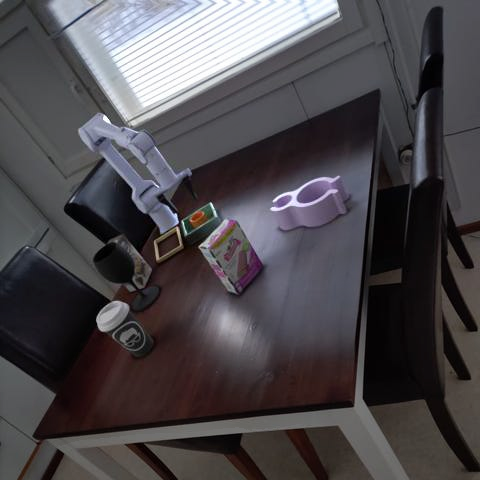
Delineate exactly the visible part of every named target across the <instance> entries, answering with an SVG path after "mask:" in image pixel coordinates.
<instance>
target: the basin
mask: <svg viewBox="0 0 480 480" xmlns="http://www.w3.org/2000/svg"><path fill="white" fill-rule="evenodd" d="M200 211H201V212H203V213H204V214H205V216H206V217H207V222H206V223H204V224H203V225H201V226H199V227H198V228H195V227H194V226H193V225H192V223H191V222H190V219H191V217H192V216H193V215H194V214H196V213H197V212H200ZM221 223H222V221H221V218H220V215H219V214H218V211H217V209H216V207H215V206H214V204H213V203H212V202H209V203H207V204H205V205H204V206H202V207H201V208H199V209H198V210H196V211H195V212H193V213H192V214H189V215H188V216H187V217H185V218H184V219H182V220H180V224H181V228H182V231H183V235H184V238H185V240H186V241H187V242H188V243H189V245H190V246H191V245H193V244H194V243H196V242H197V241H199V240H201V239H203V238H204V237H205V236H207V235H208V234H209V235H210V234H211V233H213V232H214V231H215V230H216V229H217V227H218V226H219V225H220V224H221Z"/></svg>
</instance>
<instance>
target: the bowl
mask: <svg viewBox="0 0 480 480" xmlns="http://www.w3.org/2000/svg"><path fill="white" fill-rule="evenodd" d="M190 222H191V223H192V225H193V226H194V227H195V228H198V227H199V226H201V225H203V224H204V223H206V222H207V217H206V216H205V214H204V213H203V212H201V211H200V212H197V213H196V214H194V215H193V216H192V217H191V219H190Z"/></svg>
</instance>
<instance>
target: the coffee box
mask: <svg viewBox="0 0 480 480" xmlns="http://www.w3.org/2000/svg"><path fill="white" fill-rule="evenodd" d="M111 242H116V243H118V244H119V245H121V246H122V247H123V248H125V249H126V250H127V251H128V252H129V254H130V255H131V256H132V258H133V260H134V264H135V272H134V276H133V281H134V283H135V284H136V286H137V287H138V288H139V289H140V290H141V289H145V288H146V285H147V283H148V281H149V278H150V277H151V274H152V272H153V269H152V268H151V266H150V265H149V264H148V263H147V261H146V260H145V259H144V258H143V256H141V254H140V253H139V252H138V251H137V249H136V248H135V247H134V246H133V244H132V243H131V242H130V240H128V238H127V237H126V235H124V234H120V235H117V236H116V237H115V236H114V237H113V238H111V239H109V240H108V241H107V243H106V245H107V244H109V243H111ZM123 286H125V287H126V289H127V290H128V291H129V292H130V293H132V292H134V291H135V292H136V291H137V290H136V289H135V288H134V287H133V286H132V285H131V284H129V283H124V284H123Z"/></svg>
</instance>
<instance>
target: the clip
mask: <svg viewBox="0 0 480 480" xmlns="http://www.w3.org/2000/svg"><path fill="white" fill-rule="evenodd" d="M349 198H350V197H349V195H348V192H347V190H346V187H345V185H344V183H343V180H342V177H341V176H340V175H337V176H335V177H334V178H333V177H329V176H321V177H318V178H315V179H312V180H310V181H308V182H306V183H304V184H303V185H301V186H300V187H299V188H297V189H295V190H293V191H286V192H283V193H282V194H279V195H278V196H276V197H275V198H274V199H273V200H272V203H273V205H274V206H272V207H271V208H270V211H271V214H272V215H273V217H274V219H275V220H276V222H277V225H278V226H279V228H280V229H281V230H283V231H290V230H293V229H295V228H298V227H300V226H305V227H309V228H316V227H320V226H323V225H326V224H328V223H329V222H332V221H333V220H335V219H336V218H337V217H338V216H339V215H346V214H347V207H345V204H344V202H346V201H347V200H348V199H349Z"/></svg>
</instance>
